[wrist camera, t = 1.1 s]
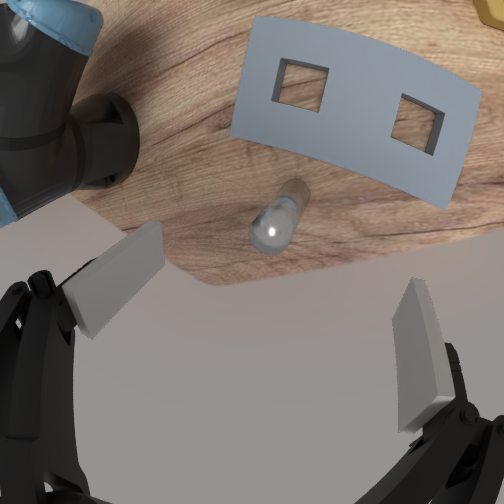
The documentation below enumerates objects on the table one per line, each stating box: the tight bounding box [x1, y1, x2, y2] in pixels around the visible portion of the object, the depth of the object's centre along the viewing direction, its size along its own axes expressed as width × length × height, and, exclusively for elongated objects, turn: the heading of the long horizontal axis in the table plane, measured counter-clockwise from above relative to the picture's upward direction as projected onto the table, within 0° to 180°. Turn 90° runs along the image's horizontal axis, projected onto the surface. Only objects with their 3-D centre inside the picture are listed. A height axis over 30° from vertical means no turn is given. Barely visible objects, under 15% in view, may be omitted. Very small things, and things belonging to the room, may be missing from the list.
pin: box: [249, 179, 310, 255], centre depth 26 cm, size 3×3×12 cm
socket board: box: [229, 16, 482, 211], centre depth 22 cm, size 24×14×3 cm, turn 78°
